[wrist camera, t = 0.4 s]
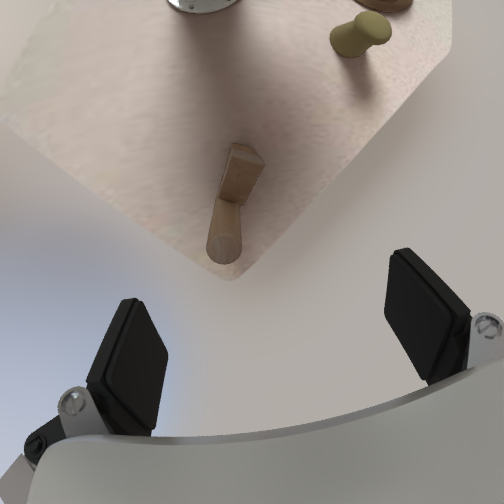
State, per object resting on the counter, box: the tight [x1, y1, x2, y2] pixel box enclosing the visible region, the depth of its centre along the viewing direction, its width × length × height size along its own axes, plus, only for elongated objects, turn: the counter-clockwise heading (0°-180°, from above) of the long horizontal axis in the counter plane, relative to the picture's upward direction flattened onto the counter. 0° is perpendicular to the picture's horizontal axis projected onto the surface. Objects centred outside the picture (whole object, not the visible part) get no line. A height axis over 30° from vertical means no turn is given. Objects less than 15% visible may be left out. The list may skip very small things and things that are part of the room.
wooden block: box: [206, 143, 264, 264], centre depth 35 cm, size 4×11×18 cm, turn 163°
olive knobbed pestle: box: [330, 11, 392, 58], centre depth 28 cm, size 6×6×11 cm
